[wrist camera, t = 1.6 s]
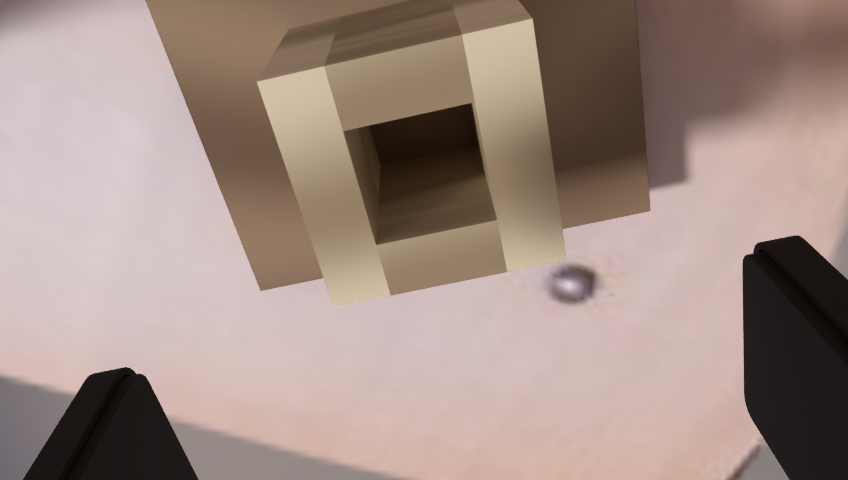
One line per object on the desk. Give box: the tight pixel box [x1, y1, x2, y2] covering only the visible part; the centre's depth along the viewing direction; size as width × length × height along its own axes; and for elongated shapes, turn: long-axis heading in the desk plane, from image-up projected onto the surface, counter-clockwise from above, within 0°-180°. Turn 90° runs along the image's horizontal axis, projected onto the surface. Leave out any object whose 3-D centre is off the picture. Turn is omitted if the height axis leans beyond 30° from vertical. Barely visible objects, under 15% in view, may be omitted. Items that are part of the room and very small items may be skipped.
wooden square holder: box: [257, 0, 567, 307], centre depth 19 cm, size 6×6×5 cm
